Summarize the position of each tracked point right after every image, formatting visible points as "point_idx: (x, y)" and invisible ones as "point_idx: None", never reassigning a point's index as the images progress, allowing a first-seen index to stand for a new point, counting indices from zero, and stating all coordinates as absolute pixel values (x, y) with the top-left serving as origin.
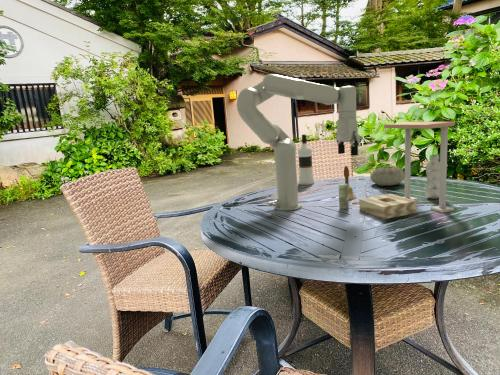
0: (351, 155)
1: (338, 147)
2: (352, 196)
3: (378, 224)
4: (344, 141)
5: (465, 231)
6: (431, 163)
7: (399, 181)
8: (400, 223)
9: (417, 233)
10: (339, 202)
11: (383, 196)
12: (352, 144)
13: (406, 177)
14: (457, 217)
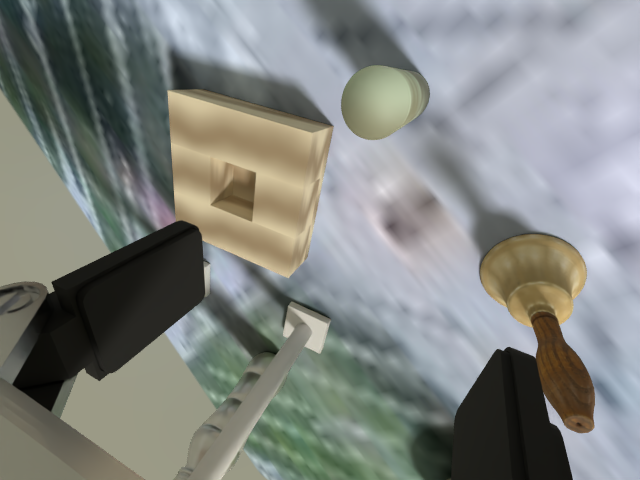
0: (190, 223)
1: (538, 473)
2: (490, 273)
3: (171, 24)
4: (28, 421)
5: (73, 147)
6: (197, 451)
7: None
8: (154, 92)
9: (82, 48)
10: (412, 72)
11: (276, 230)
12: (5, 319)
13: (263, 379)
14: (142, 231)
